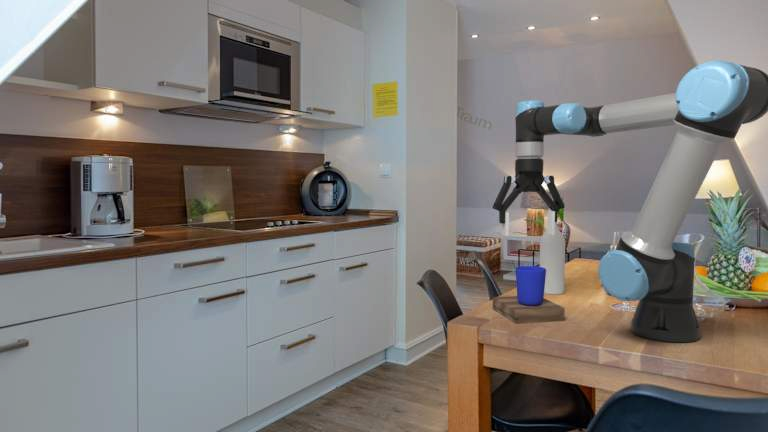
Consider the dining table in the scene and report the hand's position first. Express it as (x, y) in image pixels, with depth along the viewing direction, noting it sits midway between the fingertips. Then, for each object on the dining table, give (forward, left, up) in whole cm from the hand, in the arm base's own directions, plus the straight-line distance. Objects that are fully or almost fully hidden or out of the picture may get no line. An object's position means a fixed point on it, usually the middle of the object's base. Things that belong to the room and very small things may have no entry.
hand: (528, 234), depth 151 cm
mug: (0, 0, -19) cm, 19 cm away
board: (0, 0, -23) cm, 23 cm away
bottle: (+26, -21, -23) cm, 41 cm away
